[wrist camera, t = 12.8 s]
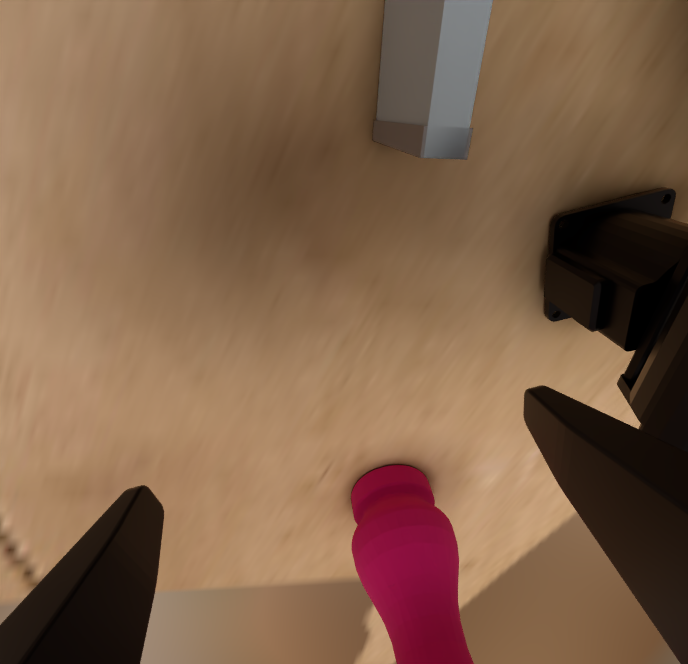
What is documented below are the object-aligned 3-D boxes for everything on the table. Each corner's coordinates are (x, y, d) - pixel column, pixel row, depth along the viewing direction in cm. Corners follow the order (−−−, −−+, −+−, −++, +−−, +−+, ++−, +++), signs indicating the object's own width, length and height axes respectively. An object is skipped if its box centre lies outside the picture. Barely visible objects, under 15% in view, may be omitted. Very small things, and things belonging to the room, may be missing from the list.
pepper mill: (351, 459, 28) (445, 1014, 11) (444, 458, 29) (662, 958, 12) (339, 520, 31) (396, 1014, 14) (422, 518, 33) (567, 971, 15)
